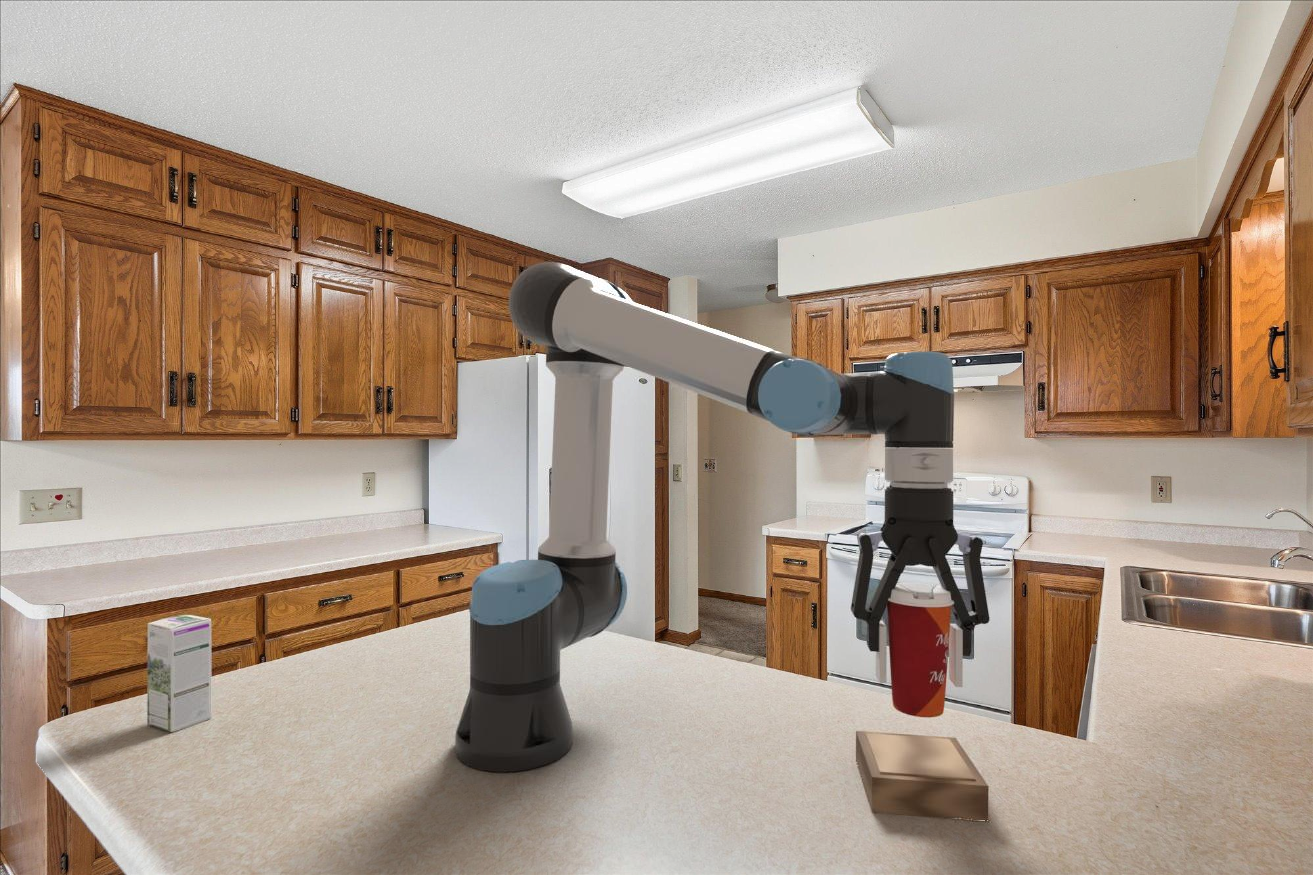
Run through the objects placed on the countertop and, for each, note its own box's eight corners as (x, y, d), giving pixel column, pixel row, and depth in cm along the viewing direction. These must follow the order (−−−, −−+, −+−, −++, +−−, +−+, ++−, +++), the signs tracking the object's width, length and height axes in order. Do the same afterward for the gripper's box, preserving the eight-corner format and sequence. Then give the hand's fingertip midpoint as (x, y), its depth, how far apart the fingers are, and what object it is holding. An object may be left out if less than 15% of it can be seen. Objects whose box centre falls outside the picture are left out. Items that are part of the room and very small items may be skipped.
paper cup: (961, 724, 74) (961, 596, 74) (887, 718, 76) (888, 593, 76) (945, 698, 82) (946, 582, 82) (879, 692, 84) (879, 579, 84)
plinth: (871, 811, 74) (872, 775, 74) (855, 760, 86) (856, 729, 86) (988, 821, 72) (988, 784, 72) (955, 768, 84) (955, 736, 84)
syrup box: (213, 718, 97) (214, 616, 97) (168, 734, 91) (170, 626, 92) (188, 711, 99) (190, 612, 99) (144, 726, 94) (145, 621, 94)
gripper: (832, 485, 77) (831, 687, 77) (1024, 488, 74) (1024, 698, 74) (825, 482, 84) (824, 665, 84) (1000, 484, 81) (999, 674, 81)
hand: (917, 680), depth 79 cm, fingers closed on paper cup, 8 cm apart
